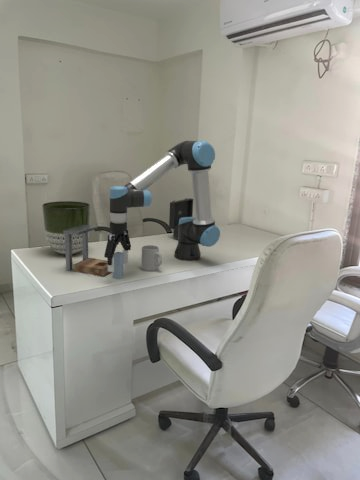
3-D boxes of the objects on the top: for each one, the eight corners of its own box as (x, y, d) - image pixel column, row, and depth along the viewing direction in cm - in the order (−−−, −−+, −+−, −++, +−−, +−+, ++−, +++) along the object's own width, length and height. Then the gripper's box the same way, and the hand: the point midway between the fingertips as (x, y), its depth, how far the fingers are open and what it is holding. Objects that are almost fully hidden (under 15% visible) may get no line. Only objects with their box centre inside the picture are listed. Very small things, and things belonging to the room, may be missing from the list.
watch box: (204, 243, 238) (206, 205, 232) (168, 236, 251) (169, 200, 245) (221, 235, 259) (223, 201, 253) (186, 229, 273) (188, 197, 267)
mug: (137, 268, 184) (138, 247, 181) (149, 264, 190) (150, 244, 188) (154, 274, 177) (155, 252, 174) (166, 270, 183) (167, 249, 180)
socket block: (116, 270, 180) (116, 262, 179) (103, 277, 169) (103, 269, 168) (89, 265, 185) (89, 257, 184) (74, 272, 174) (74, 264, 173)
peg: (123, 277, 171) (123, 252, 168) (119, 279, 168) (119, 254, 165) (116, 276, 172) (116, 251, 169) (113, 278, 169) (112, 253, 166)
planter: (99, 253, 204) (99, 205, 198) (59, 262, 187) (57, 210, 180) (75, 244, 220) (74, 200, 214) (36, 251, 203) (33, 203, 196)
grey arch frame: (98, 265, 186) (97, 226, 181) (79, 274, 171) (77, 232, 166) (84, 262, 189) (84, 224, 183) (64, 272, 174) (63, 230, 169)
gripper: (124, 216, 175) (124, 259, 181) (95, 225, 153) (96, 274, 159) (138, 218, 173) (137, 261, 178) (111, 227, 151) (111, 277, 156)
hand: (118, 267), depth 168 cm, fingers open, 12 cm apart
